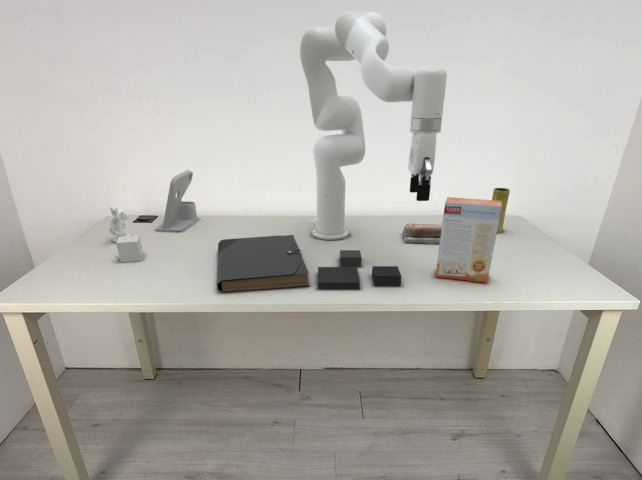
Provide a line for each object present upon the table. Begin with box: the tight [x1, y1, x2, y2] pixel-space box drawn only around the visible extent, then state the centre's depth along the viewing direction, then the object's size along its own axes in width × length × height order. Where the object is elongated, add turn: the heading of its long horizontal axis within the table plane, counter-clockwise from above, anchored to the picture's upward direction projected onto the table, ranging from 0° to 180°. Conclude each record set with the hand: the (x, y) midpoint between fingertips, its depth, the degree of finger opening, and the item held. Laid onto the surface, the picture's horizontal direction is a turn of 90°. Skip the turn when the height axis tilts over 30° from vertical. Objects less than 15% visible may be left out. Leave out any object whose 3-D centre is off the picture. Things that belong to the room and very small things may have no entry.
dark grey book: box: [216, 234, 310, 294], centre depth 136 cm, size 33×4×24 cm
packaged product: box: [402, 223, 442, 245], centre depth 158 cm, size 18×5×10 cm
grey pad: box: [339, 249, 362, 268], centre depth 139 cm, size 6×6×3 cm
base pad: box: [317, 266, 361, 290], centre depth 128 cm, size 11×11×2 cm
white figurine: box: [108, 205, 133, 243], centre depth 154 cm, size 8×7×12 cm
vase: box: [491, 187, 511, 234], centre depth 164 cm, size 6×6×14 cm
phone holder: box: [155, 169, 199, 233], centre depth 168 cm, size 17×10×18 cm, turn 172°
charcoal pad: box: [371, 265, 402, 287], centre depth 128 cm, size 7×7×3 cm
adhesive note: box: [115, 234, 144, 263], centre depth 142 cm, size 6×6×6 cm
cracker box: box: [435, 196, 502, 284], centre depth 126 cm, size 14×6×21 cm, turn 71°
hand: (418, 196), depth 125 cm, fingers open, 9 cm apart
